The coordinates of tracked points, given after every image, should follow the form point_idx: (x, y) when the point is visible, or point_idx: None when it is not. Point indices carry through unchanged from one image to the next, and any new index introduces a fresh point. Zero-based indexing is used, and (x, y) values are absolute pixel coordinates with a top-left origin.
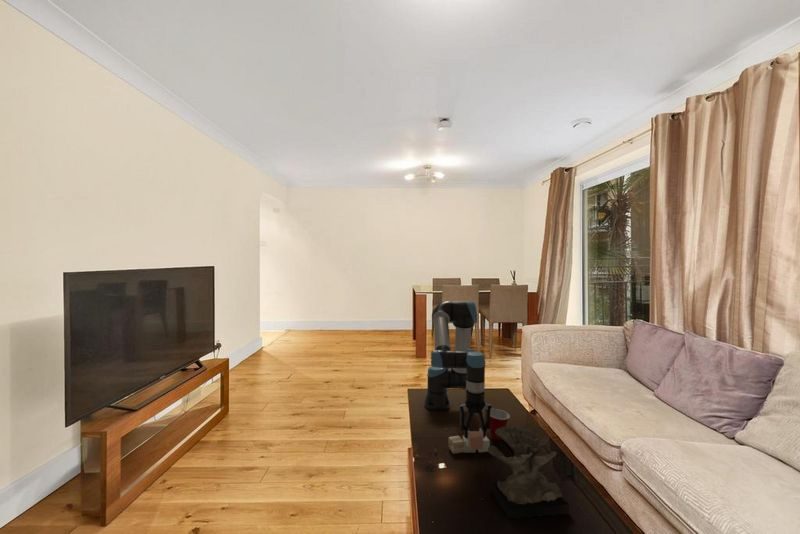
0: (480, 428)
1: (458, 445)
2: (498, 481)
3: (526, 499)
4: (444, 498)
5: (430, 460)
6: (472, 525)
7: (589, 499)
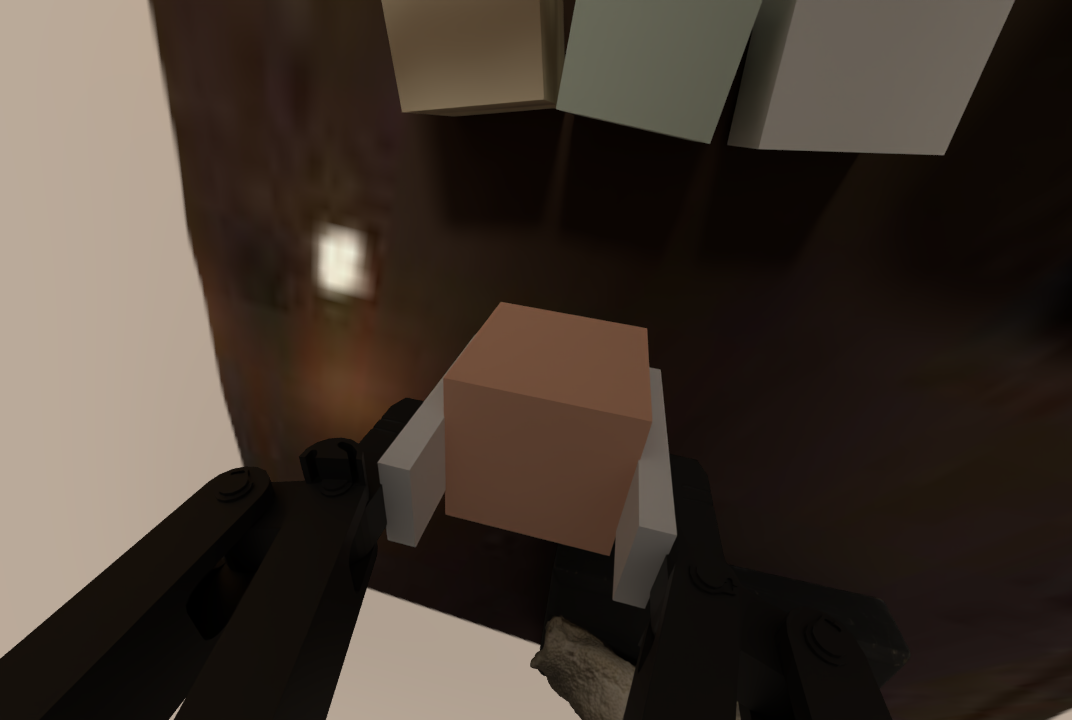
0: (648, 543)
1: (485, 108)
2: (540, 664)
3: None
4: None
5: (260, 183)
6: (413, 598)
7: (1006, 702)
